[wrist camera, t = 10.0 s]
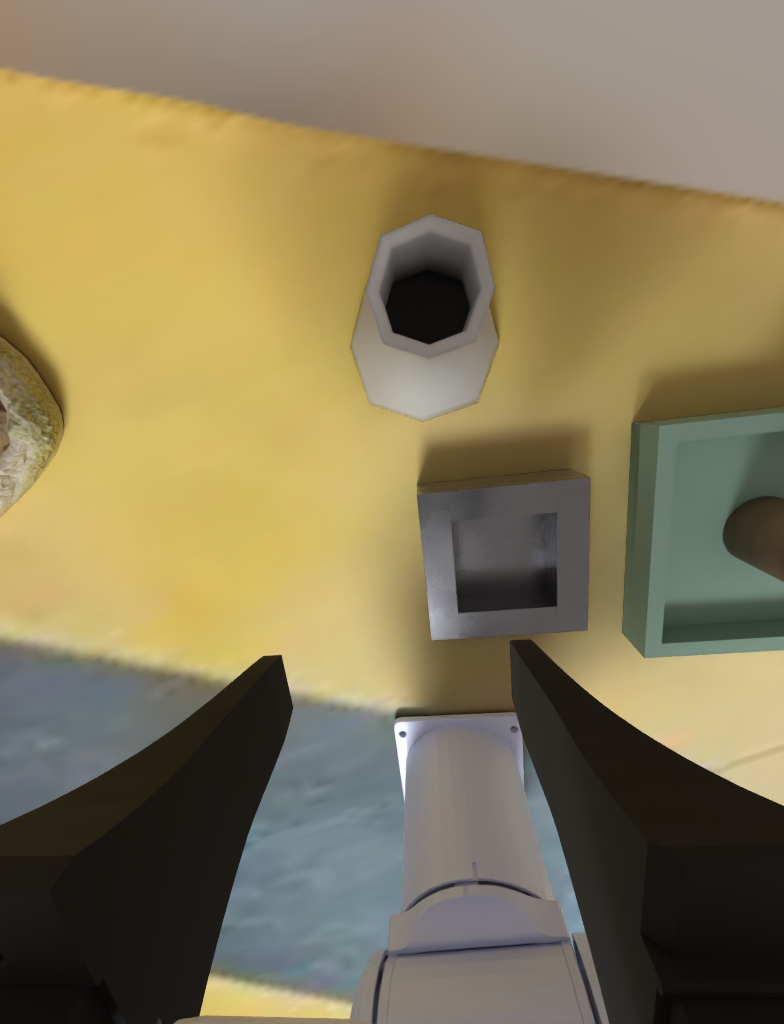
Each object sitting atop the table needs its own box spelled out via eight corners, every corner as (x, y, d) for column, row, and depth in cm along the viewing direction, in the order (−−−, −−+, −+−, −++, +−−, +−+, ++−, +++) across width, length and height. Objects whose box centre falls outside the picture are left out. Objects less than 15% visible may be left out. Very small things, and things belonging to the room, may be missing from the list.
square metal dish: (569, 605, 22) (587, 630, 20) (430, 615, 23) (431, 640, 21) (570, 469, 20) (590, 477, 18) (416, 484, 21) (417, 494, 19)
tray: (848, 619, 22) (898, 643, 19) (622, 633, 23) (644, 658, 20) (898, 394, 18) (964, 392, 16) (632, 423, 19) (659, 425, 17)
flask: (502, 260, 18) (601, 95, 8) (493, 420, 20) (565, 436, 10) (347, 265, 18) (272, 115, 9) (353, 422, 20) (296, 438, 11)
